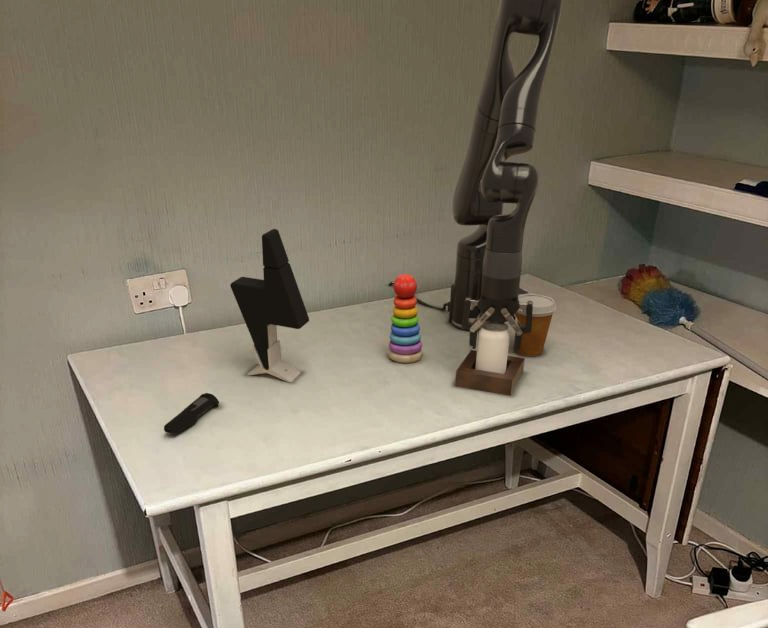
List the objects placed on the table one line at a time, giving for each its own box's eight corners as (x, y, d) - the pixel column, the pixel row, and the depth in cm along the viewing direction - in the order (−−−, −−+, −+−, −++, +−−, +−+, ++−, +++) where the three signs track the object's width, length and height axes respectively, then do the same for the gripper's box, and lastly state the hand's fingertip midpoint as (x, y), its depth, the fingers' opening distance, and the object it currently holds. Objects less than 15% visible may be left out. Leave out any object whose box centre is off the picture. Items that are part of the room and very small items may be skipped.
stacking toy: (408, 347, 179) (410, 266, 169) (429, 359, 174) (433, 276, 164) (380, 355, 176) (381, 273, 165) (401, 367, 170) (404, 283, 160)
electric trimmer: (159, 437, 143) (156, 422, 141) (205, 402, 155) (203, 387, 153) (176, 441, 142) (174, 426, 140) (221, 405, 154) (219, 391, 152)
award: (312, 374, 167) (306, 231, 150) (302, 384, 162) (295, 238, 145) (249, 364, 170) (236, 223, 154) (238, 373, 166) (223, 230, 149)
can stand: (454, 386, 163) (456, 370, 161) (469, 364, 172) (471, 349, 170) (510, 395, 159) (512, 380, 157) (523, 373, 169) (524, 358, 167)
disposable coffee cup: (553, 347, 181) (561, 297, 174) (543, 362, 173) (550, 310, 167) (514, 340, 184) (520, 291, 177) (502, 354, 177) (508, 303, 170)
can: (503, 387, 163) (509, 332, 156) (472, 384, 164) (477, 330, 157) (505, 374, 168) (511, 321, 161) (476, 371, 169) (480, 319, 162)
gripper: (538, 268, 155) (529, 345, 164) (467, 264, 157) (462, 340, 166) (537, 279, 148) (528, 358, 157) (464, 275, 150) (458, 353, 159)
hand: (494, 349), depth 161 cm, fingers open, 8 cm apart
